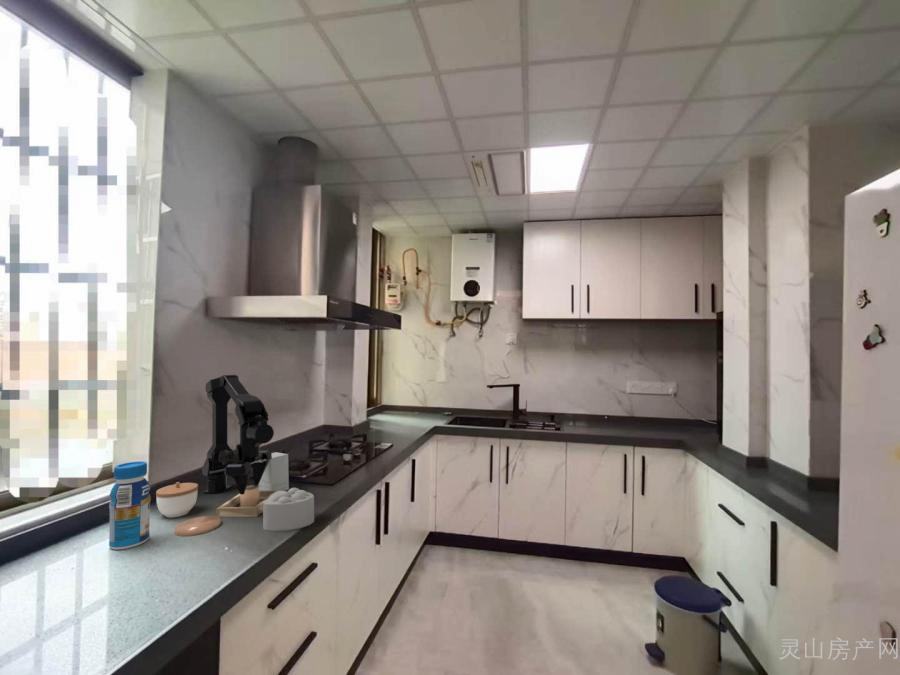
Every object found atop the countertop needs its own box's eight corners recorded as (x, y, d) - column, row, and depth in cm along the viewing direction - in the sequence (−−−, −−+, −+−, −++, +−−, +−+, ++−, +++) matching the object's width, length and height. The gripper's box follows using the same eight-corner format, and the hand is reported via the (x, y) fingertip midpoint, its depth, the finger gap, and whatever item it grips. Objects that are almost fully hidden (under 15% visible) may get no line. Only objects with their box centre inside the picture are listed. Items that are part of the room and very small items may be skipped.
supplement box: (289, 489, 144) (289, 453, 145) (270, 496, 138) (270, 458, 139) (276, 486, 148) (276, 451, 149) (257, 492, 142) (257, 456, 143)
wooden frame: (243, 498, 136) (243, 490, 136) (279, 497, 136) (279, 490, 136) (216, 517, 120) (216, 508, 120) (256, 516, 120) (256, 507, 120)
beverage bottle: (100, 547, 102) (101, 467, 103) (136, 534, 110) (138, 459, 111) (121, 553, 99) (123, 470, 100) (157, 538, 107) (158, 461, 107)
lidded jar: (148, 517, 122) (148, 485, 122) (185, 505, 131) (185, 475, 131) (168, 523, 117) (168, 490, 117) (205, 510, 126) (205, 479, 126)
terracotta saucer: (191, 519, 119) (191, 516, 119) (228, 519, 119) (228, 515, 119) (164, 536, 108) (164, 532, 108) (206, 535, 108) (206, 531, 108)
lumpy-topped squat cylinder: (274, 516, 120) (274, 486, 120) (318, 514, 121) (318, 485, 121) (259, 531, 110) (259, 499, 110) (308, 529, 110) (307, 497, 111)
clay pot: (245, 504, 131) (245, 484, 131) (262, 503, 131) (262, 484, 131) (236, 510, 125) (236, 490, 126) (254, 510, 125) (254, 490, 126)
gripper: (239, 434, 138) (239, 480, 138) (206, 446, 120) (206, 500, 119) (272, 433, 138) (272, 480, 138) (244, 445, 120) (244, 499, 119)
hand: (249, 489), depth 128 cm, fingers open, 9 cm apart
